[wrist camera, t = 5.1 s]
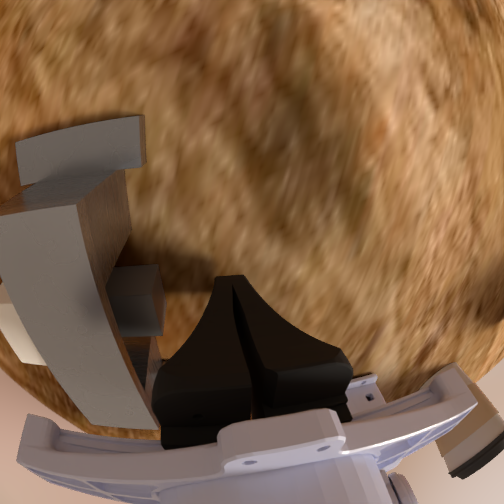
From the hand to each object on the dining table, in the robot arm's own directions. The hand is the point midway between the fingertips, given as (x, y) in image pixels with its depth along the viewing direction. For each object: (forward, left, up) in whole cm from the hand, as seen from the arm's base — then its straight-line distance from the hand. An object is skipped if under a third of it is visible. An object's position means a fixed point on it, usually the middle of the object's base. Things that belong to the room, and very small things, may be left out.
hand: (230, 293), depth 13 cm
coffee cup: (-26, +19, -1) cm, 32 cm away
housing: (+6, 0, -1) cm, 6 cm away
